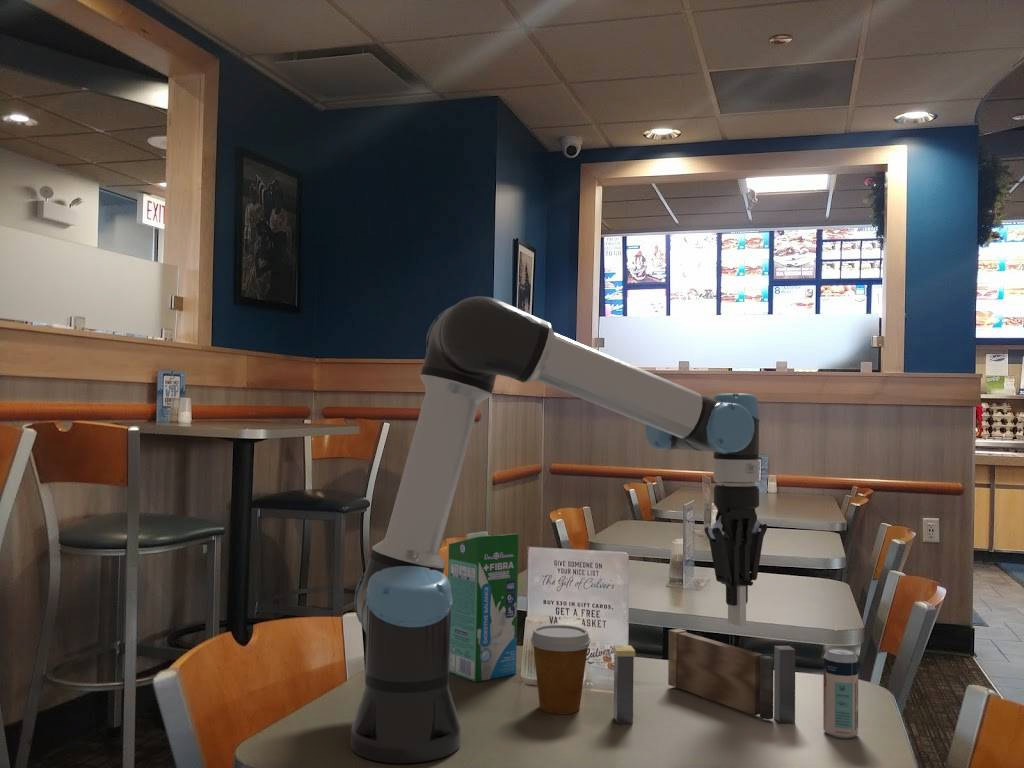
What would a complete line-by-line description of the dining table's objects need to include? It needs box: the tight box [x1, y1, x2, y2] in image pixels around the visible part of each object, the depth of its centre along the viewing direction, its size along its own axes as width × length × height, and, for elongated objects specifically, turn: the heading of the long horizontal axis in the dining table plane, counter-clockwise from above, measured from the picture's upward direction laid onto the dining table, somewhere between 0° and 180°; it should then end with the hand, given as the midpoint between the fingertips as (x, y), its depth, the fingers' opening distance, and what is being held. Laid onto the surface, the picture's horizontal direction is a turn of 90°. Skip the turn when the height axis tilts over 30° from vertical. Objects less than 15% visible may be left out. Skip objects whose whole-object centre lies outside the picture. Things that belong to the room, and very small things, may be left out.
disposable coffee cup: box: [530, 624, 592, 715], centre depth 142 cm, size 10×10×12 cm
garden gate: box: [667, 628, 774, 720], centre depth 146 cm, size 21×2×9 cm, turn 33°
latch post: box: [612, 644, 636, 725], centre depth 136 cm, size 3×3×11 cm
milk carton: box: [447, 531, 520, 683], centre depth 162 cm, size 9×9×25 cm
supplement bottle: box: [822, 647, 859, 740], centre depth 132 cm, size 5×5×12 cm
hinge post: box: [773, 645, 796, 724], centre depth 138 cm, size 2×2×11 cm
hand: (737, 623), depth 153 cm, fingers closed
